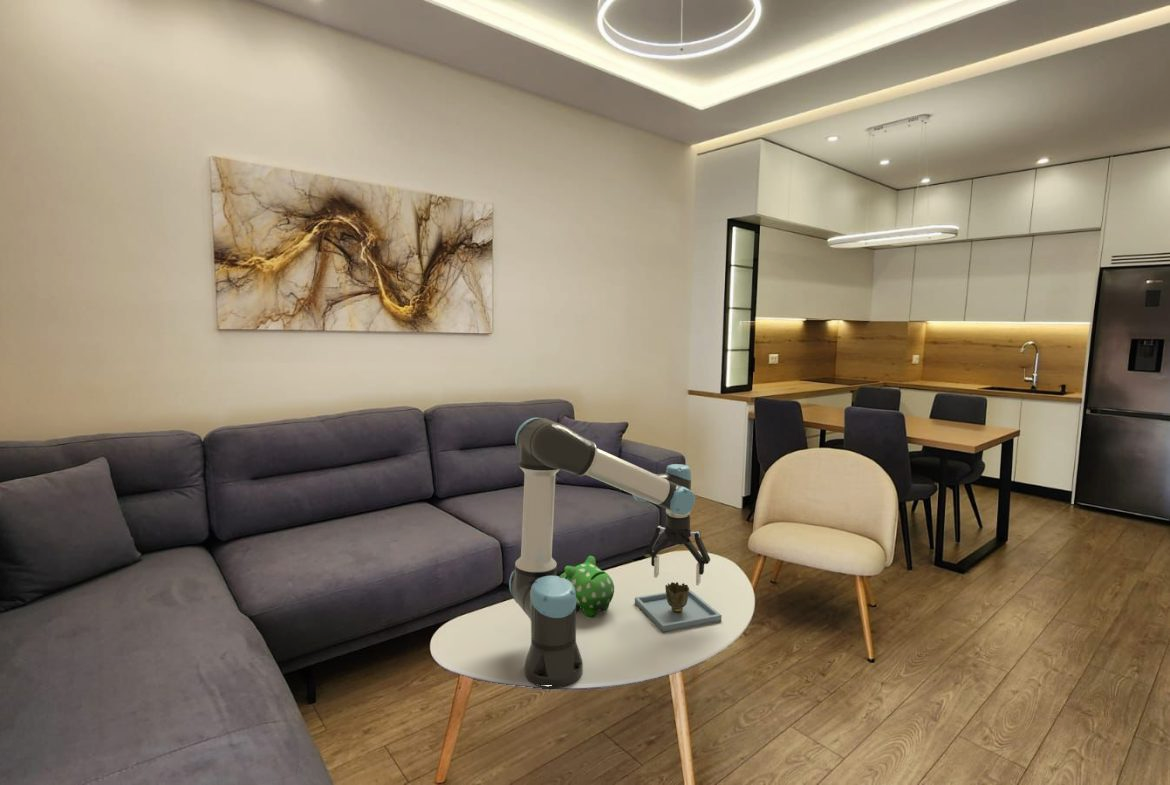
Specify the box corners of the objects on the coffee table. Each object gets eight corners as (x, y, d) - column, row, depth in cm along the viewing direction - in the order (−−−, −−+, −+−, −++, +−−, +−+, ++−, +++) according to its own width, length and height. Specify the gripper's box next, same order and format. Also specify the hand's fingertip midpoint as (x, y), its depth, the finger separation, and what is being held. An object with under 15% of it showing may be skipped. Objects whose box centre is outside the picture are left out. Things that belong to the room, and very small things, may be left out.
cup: (661, 613, 181) (662, 588, 180) (669, 604, 187) (669, 580, 187) (685, 618, 177) (685, 593, 177) (691, 608, 184) (691, 584, 183)
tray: (663, 632, 170) (663, 626, 170) (634, 603, 189) (634, 597, 188) (721, 621, 177) (721, 615, 176) (688, 594, 195) (688, 588, 195)
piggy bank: (580, 593, 196) (580, 550, 195) (622, 609, 185) (622, 564, 183) (551, 607, 186) (550, 563, 184) (594, 626, 174) (594, 578, 173)
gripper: (720, 516, 178) (719, 582, 180) (644, 506, 188) (643, 568, 190) (715, 523, 171) (713, 591, 173) (636, 512, 182) (635, 577, 184)
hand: (677, 579), depth 182 cm, fingers open, 13 cm apart
